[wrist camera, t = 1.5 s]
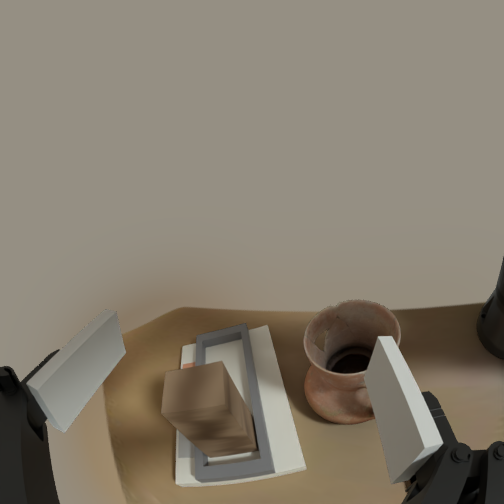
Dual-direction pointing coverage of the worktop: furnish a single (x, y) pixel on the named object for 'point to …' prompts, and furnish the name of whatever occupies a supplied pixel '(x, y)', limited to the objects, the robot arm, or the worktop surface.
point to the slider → (209, 410)
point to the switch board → (258, 402)
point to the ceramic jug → (345, 358)
